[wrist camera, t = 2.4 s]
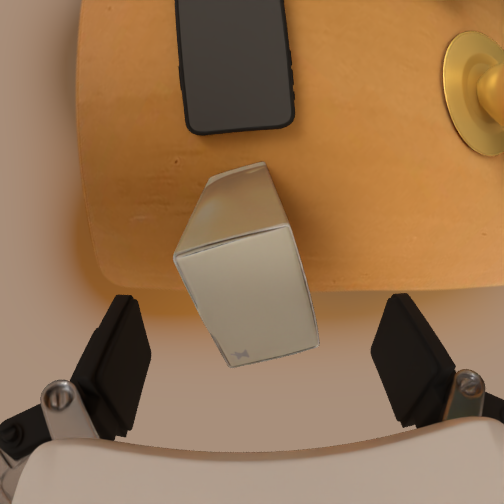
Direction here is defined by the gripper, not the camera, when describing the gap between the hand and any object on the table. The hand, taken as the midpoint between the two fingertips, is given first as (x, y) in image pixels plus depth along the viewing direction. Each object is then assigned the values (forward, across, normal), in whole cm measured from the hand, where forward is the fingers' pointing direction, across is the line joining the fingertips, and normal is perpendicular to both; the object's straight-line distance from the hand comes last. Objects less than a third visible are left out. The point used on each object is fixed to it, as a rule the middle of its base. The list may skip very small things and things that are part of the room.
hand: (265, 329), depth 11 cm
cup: (+13, -21, -12) cm, 28 cm away
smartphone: (+13, +2, -13) cm, 19 cm away
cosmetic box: (+13, 0, 0) cm, 13 cm away
